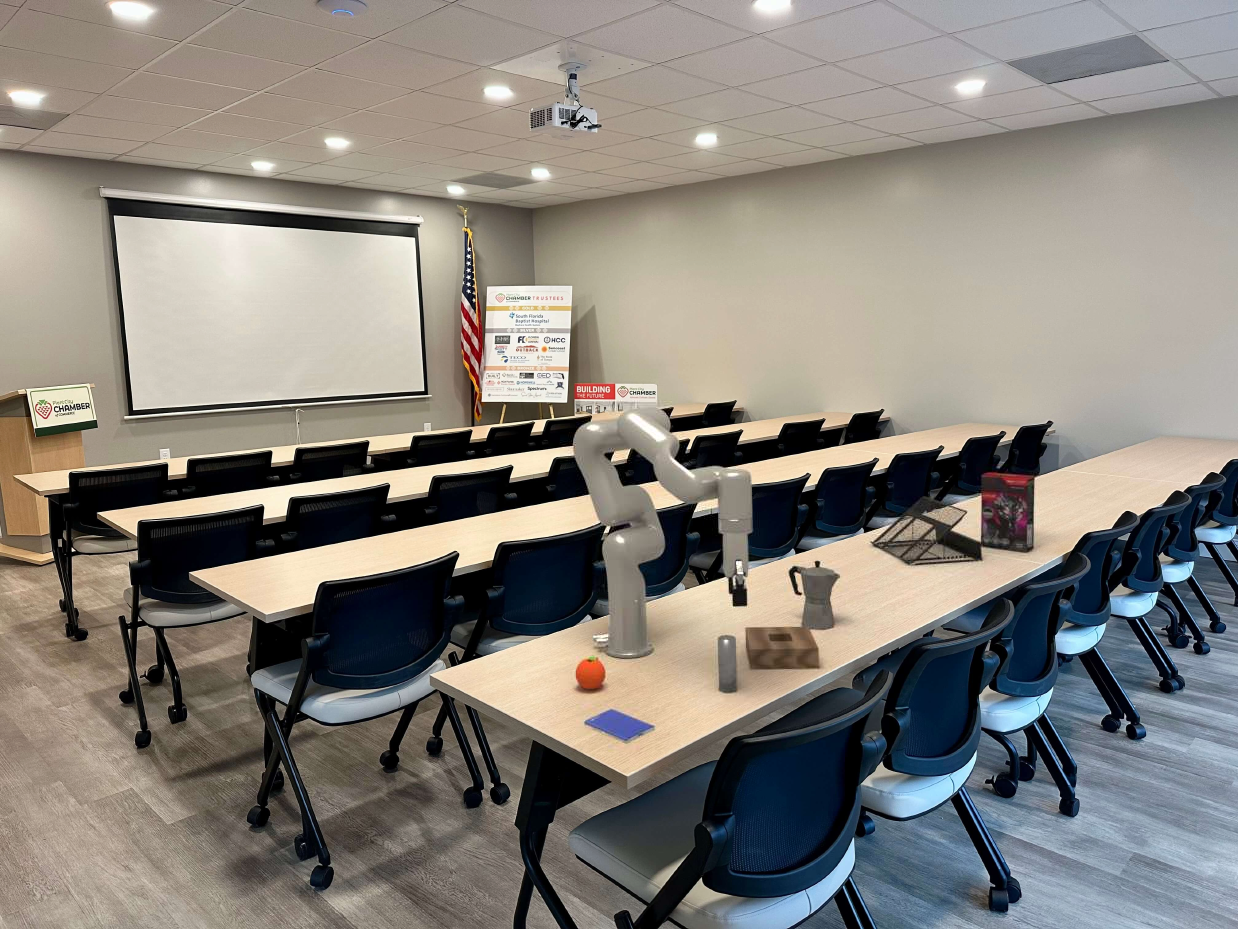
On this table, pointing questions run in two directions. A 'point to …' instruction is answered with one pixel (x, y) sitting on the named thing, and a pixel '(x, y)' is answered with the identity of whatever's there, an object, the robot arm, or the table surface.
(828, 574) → the coffeepot
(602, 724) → the hard drive
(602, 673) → the clementine
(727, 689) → the peg
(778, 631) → the socket block
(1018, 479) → the graphics card box
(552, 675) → the table surface
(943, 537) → the portable electronic device stand
